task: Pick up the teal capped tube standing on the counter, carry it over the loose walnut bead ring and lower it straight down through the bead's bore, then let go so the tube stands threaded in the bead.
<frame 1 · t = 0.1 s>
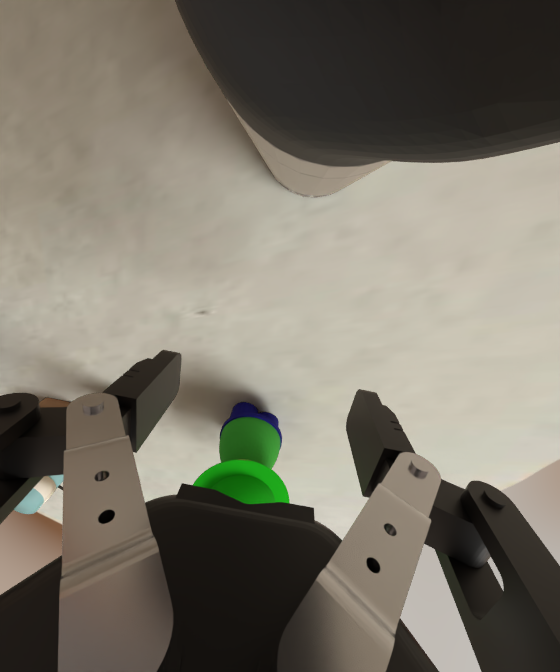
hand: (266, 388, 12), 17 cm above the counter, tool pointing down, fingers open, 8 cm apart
toy: (256, 416, 35), on the counter
teal capped tube: (122, 397, 35), on the counter
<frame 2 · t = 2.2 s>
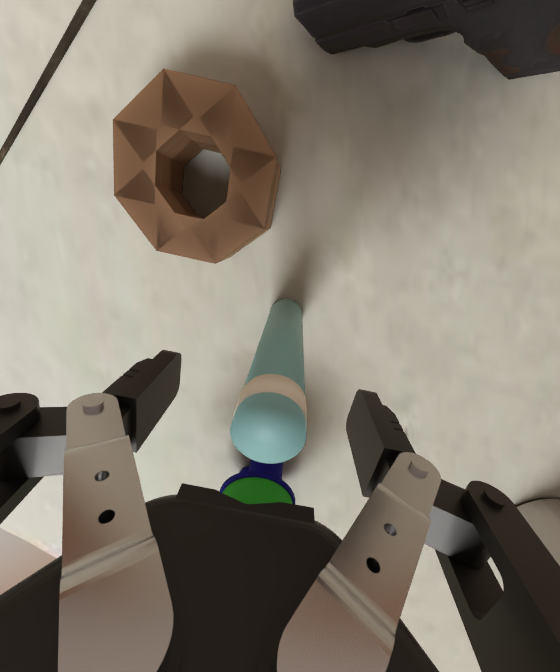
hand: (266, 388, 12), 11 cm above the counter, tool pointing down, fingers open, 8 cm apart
toy: (261, 468, 29), on the counter
bead: (212, 186, 19), on the counter
paintbrush: (93, 9, 17), on the counter
teal capped tube: (286, 314, 22), on the counter
handgun: (432, 40, 16), on the counter
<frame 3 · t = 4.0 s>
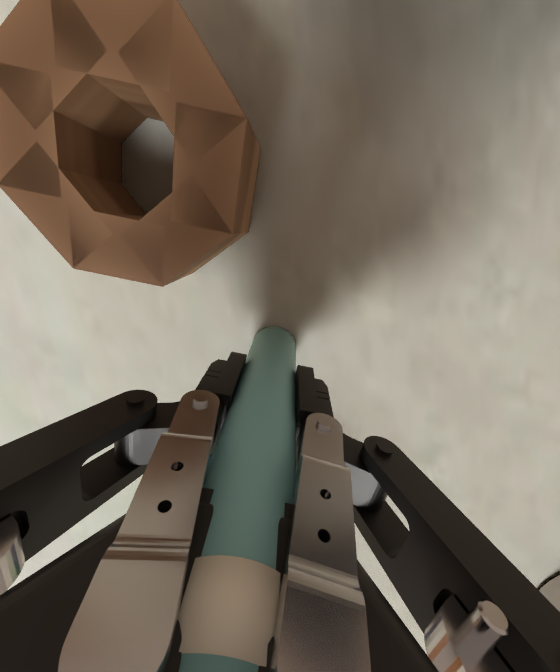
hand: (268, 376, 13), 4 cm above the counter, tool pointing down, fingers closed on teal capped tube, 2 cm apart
bead: (164, 172, 14), on the counter
teal capped tube: (274, 346, 17), on the counter, touching gripper
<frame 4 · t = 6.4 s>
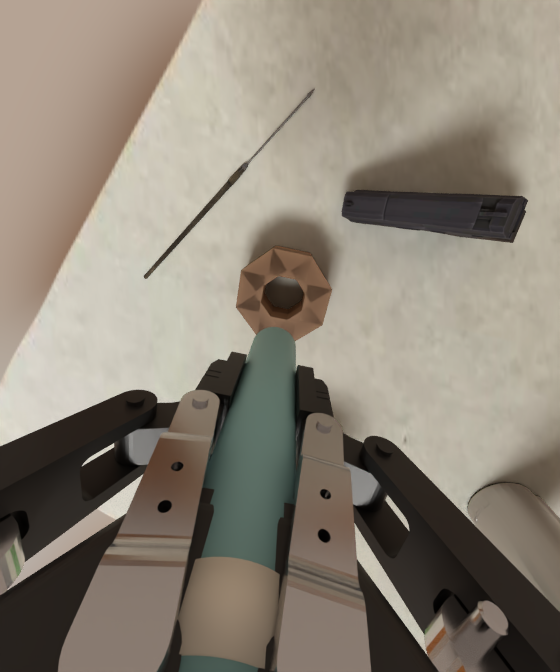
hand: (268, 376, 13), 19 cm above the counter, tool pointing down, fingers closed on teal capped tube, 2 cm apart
bead: (284, 289, 31), on the counter
paintbrush: (220, 196, 28), on the counter
teal capped tube: (274, 347, 17), point 16 cm above the counter, touching gripper
handgun: (417, 216, 28), on the counter
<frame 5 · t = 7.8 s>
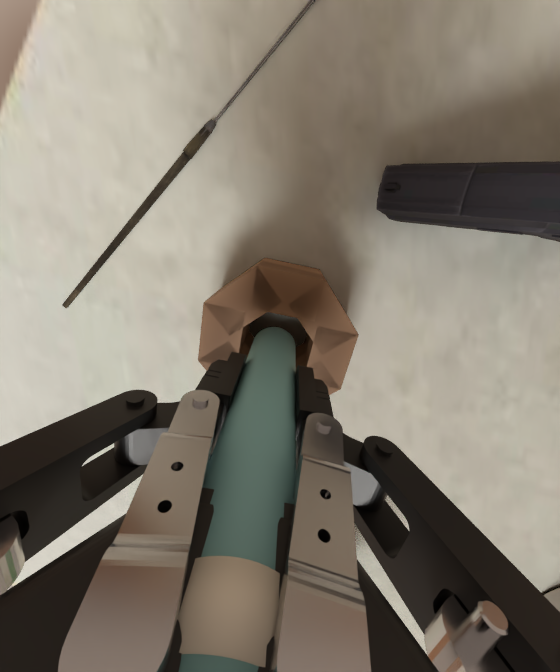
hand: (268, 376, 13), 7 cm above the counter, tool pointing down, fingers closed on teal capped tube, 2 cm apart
bead: (279, 325, 20), on the counter
paintbrush: (173, 177, 17), on the counter
teal capped tube: (274, 347, 17), point 4 cm above the counter, touching gripper
handgun: (498, 210, 17), on the counter
when the fingers open (5 cm above the counter, at t = 8.9 s): teal capped tube stays where it is, resting in bead.
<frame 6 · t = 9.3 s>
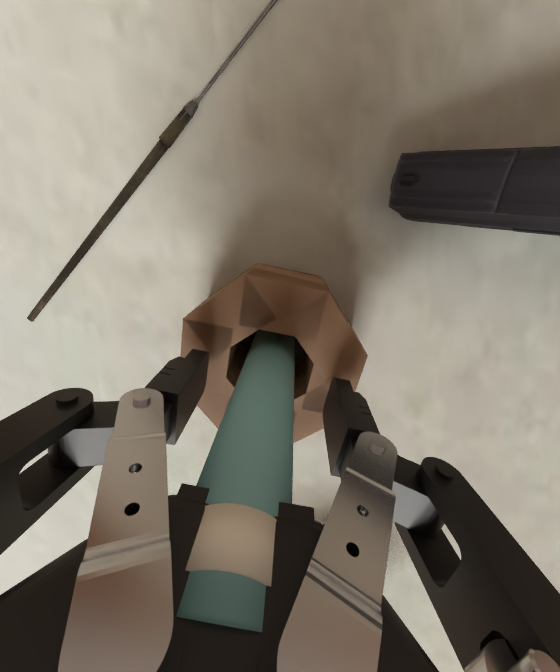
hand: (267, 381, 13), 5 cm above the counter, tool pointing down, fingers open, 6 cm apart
bead: (274, 340, 18), on the counter
paintbrush: (149, 170, 15), on the counter
teal capped tube: (274, 340, 18), resting in bead
handgun: (529, 207, 14), on the counter
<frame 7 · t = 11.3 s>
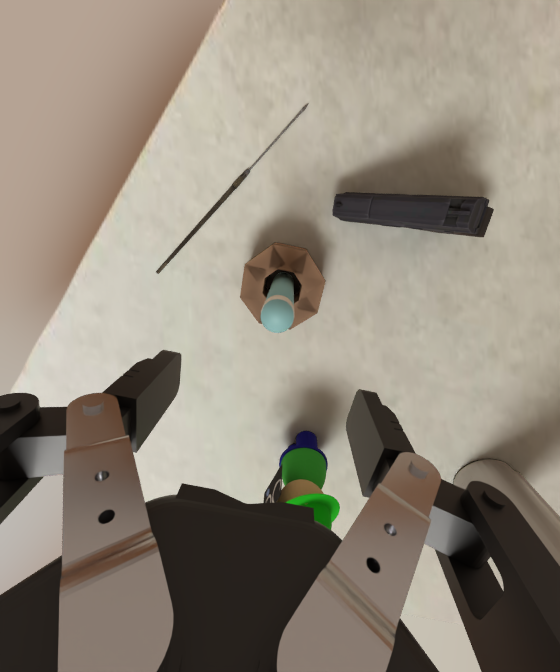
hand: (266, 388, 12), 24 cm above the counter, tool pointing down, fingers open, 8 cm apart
toy: (301, 445, 44), on the counter
bead: (283, 282, 35), on the counter
paintbrush: (225, 198, 32), on the counter
teal capped tube: (283, 282, 35), resting in bead
handgun: (400, 214, 32), on the counter
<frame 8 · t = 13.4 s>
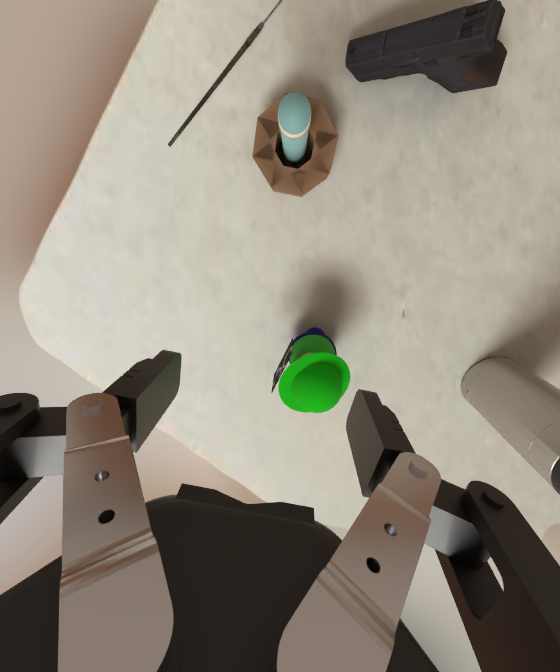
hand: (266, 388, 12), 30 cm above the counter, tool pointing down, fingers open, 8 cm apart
toy: (310, 345, 44), on the counter
bead: (294, 154, 35), on the counter
paintbrush: (237, 59, 32), on the counter
teal capped tube: (294, 154, 35), resting in bead
handgun: (412, 74, 32), on the counter
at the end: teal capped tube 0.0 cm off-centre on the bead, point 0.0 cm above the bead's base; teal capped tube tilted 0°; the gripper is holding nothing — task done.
